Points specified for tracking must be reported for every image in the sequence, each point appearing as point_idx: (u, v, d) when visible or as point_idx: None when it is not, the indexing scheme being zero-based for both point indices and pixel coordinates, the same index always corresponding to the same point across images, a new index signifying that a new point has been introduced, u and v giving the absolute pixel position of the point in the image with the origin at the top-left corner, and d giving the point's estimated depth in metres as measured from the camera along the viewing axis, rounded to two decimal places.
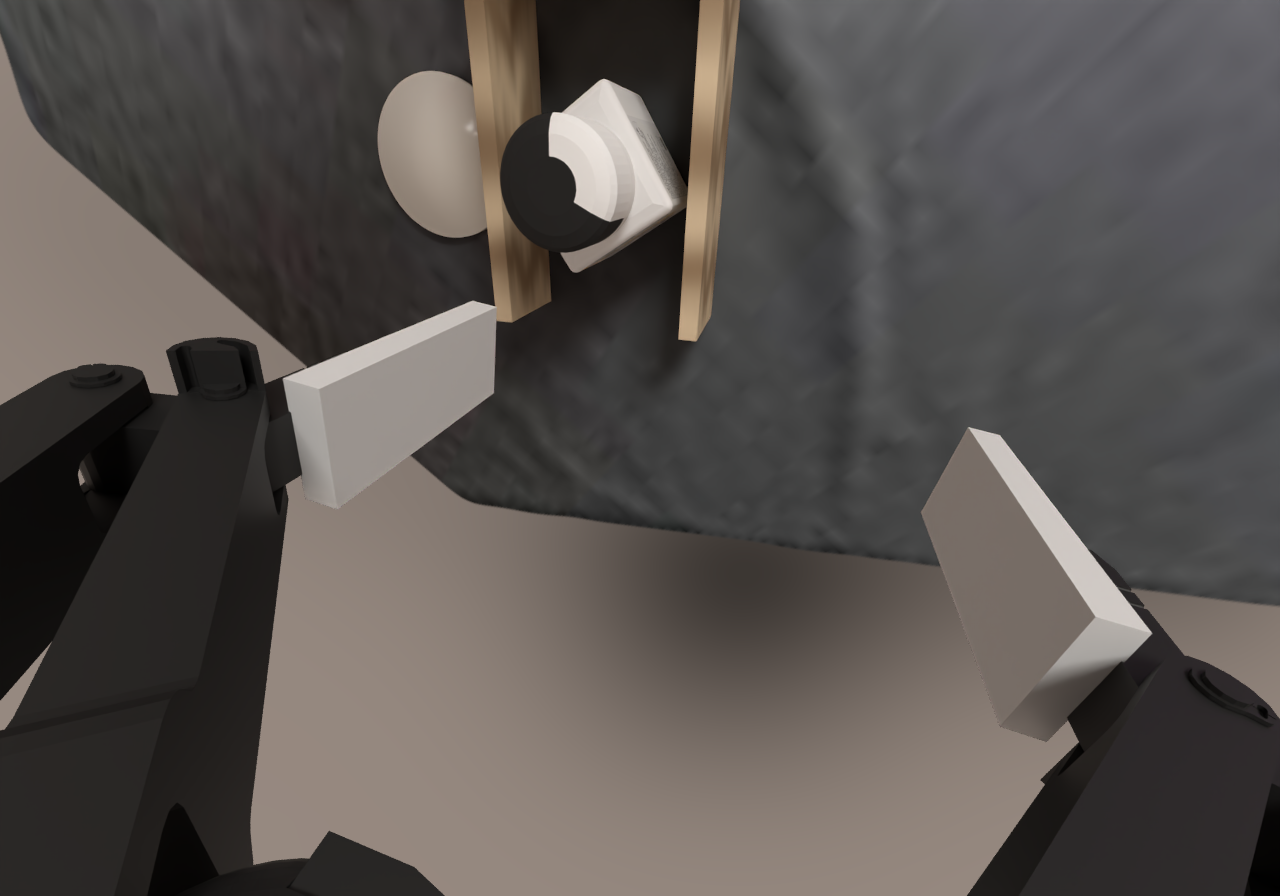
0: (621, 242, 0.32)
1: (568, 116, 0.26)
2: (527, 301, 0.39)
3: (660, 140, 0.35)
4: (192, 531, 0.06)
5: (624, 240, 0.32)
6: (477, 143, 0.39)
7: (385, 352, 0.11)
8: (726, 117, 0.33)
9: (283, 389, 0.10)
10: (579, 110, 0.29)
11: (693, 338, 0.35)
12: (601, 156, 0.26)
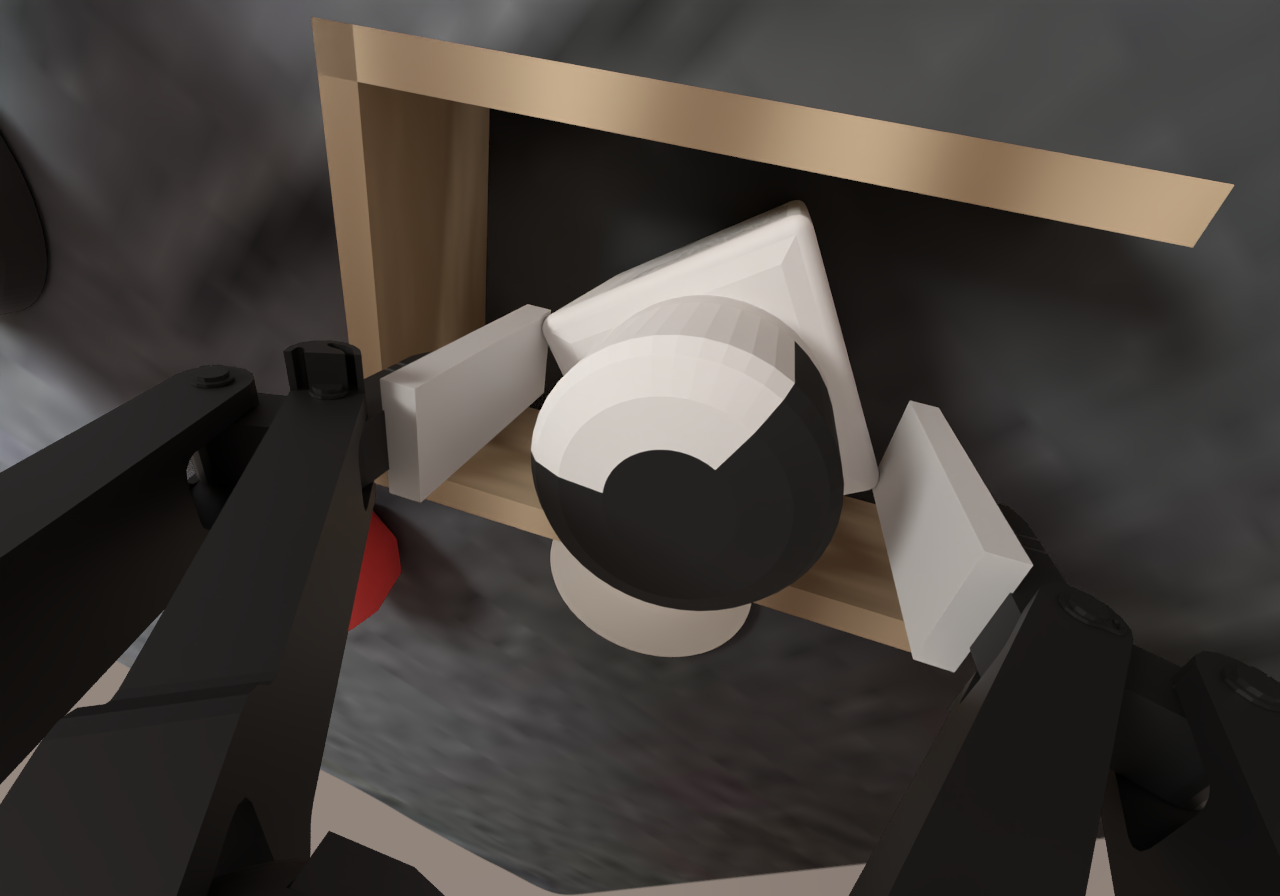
0: (846, 361, 0.13)
1: (539, 419, 0.11)
2: None
3: (682, 247, 0.19)
4: (287, 524, 0.07)
5: (844, 353, 0.13)
6: None
7: (463, 354, 0.12)
8: None
9: (372, 389, 0.11)
10: None
11: (1217, 194, 0.11)
12: (624, 365, 0.10)
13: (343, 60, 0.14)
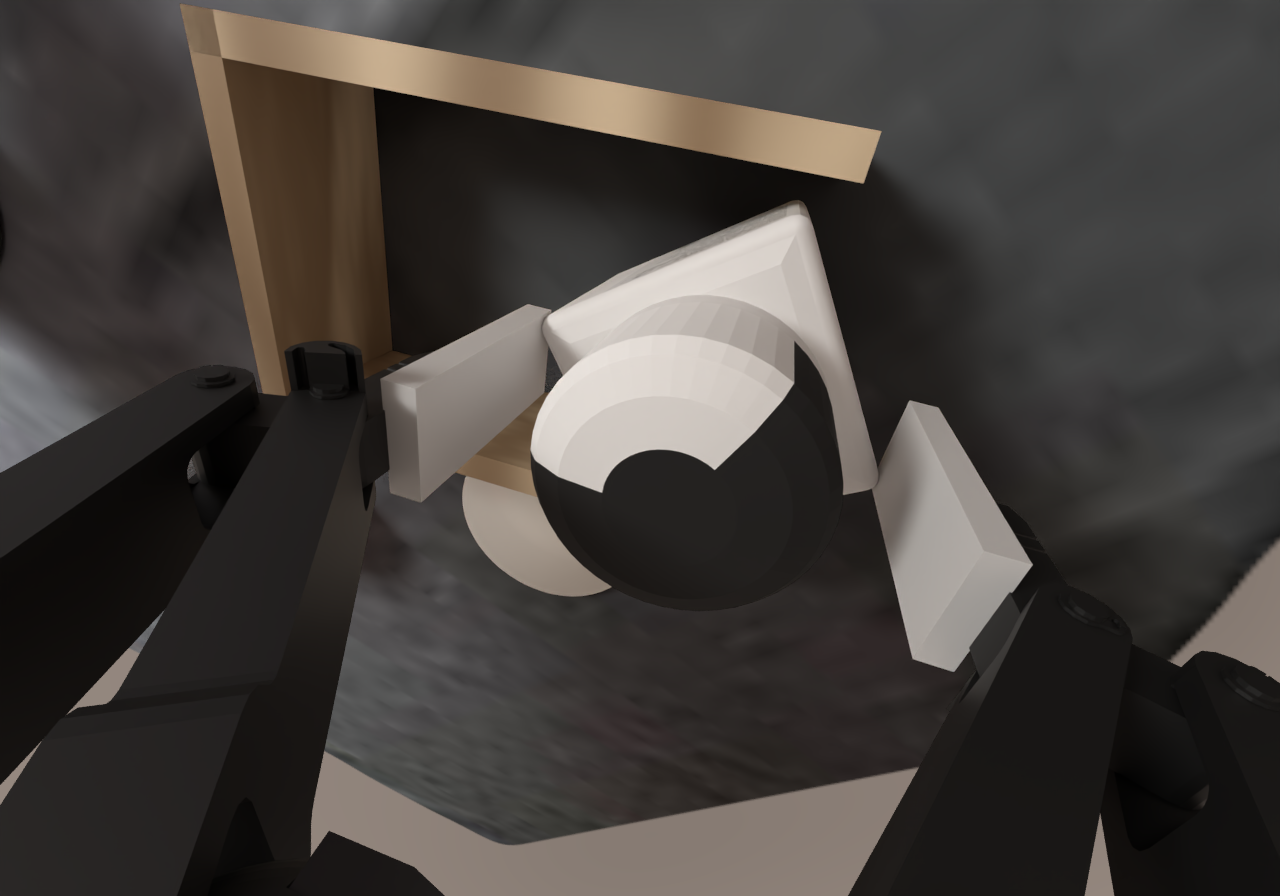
0: (846, 361, 0.13)
1: (539, 419, 0.11)
2: None
3: (682, 247, 0.19)
4: (289, 524, 0.07)
5: (844, 353, 0.13)
6: None
7: (463, 354, 0.12)
8: None
9: (372, 388, 0.11)
10: None
11: (871, 139, 0.13)
12: (623, 365, 0.10)
13: (209, 39, 0.16)
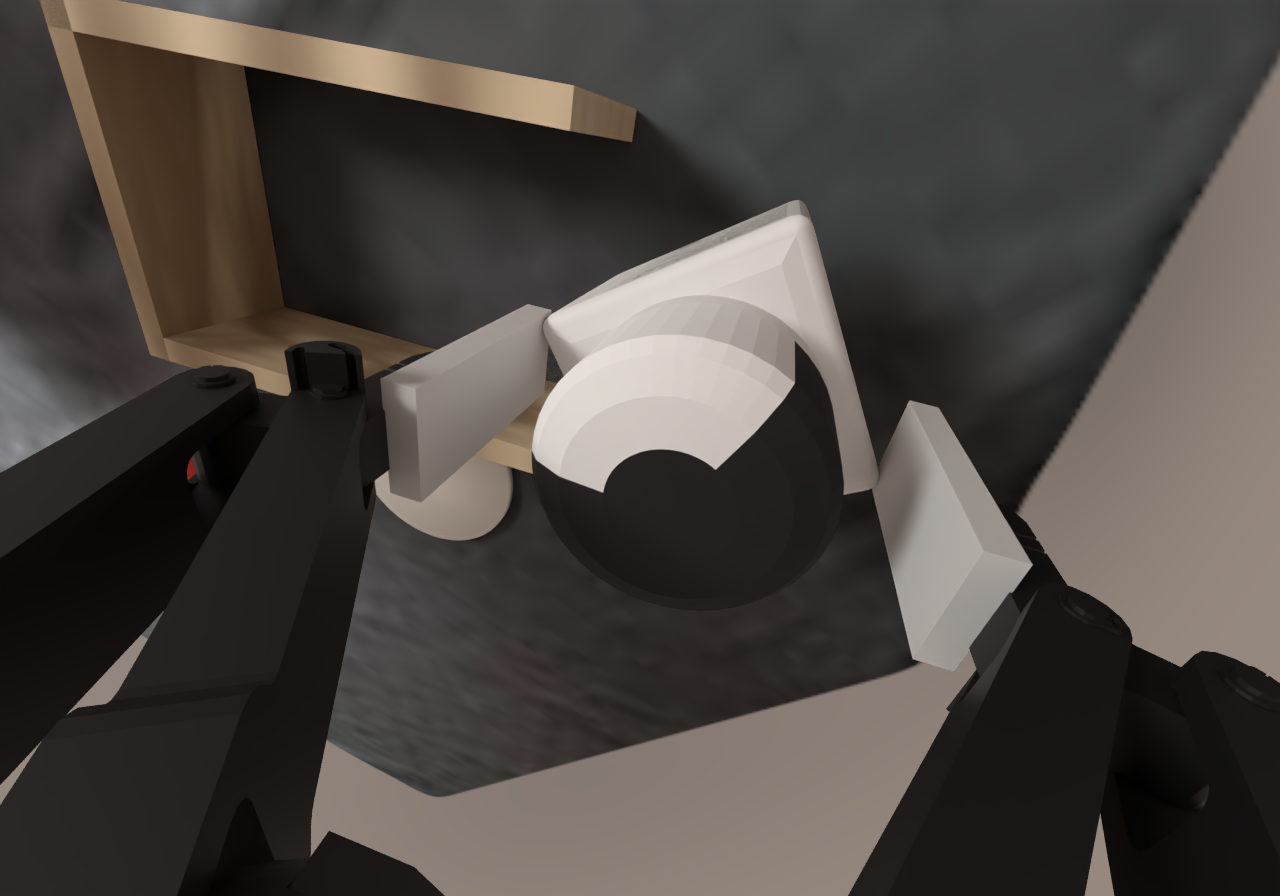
0: (846, 361, 0.14)
1: (540, 419, 0.11)
2: None
3: (682, 248, 0.19)
4: (289, 524, 0.07)
5: (844, 353, 0.13)
6: None
7: (463, 354, 0.12)
8: None
9: (372, 388, 0.11)
10: None
11: (567, 92, 0.16)
12: (625, 365, 0.10)
13: (60, 15, 0.19)
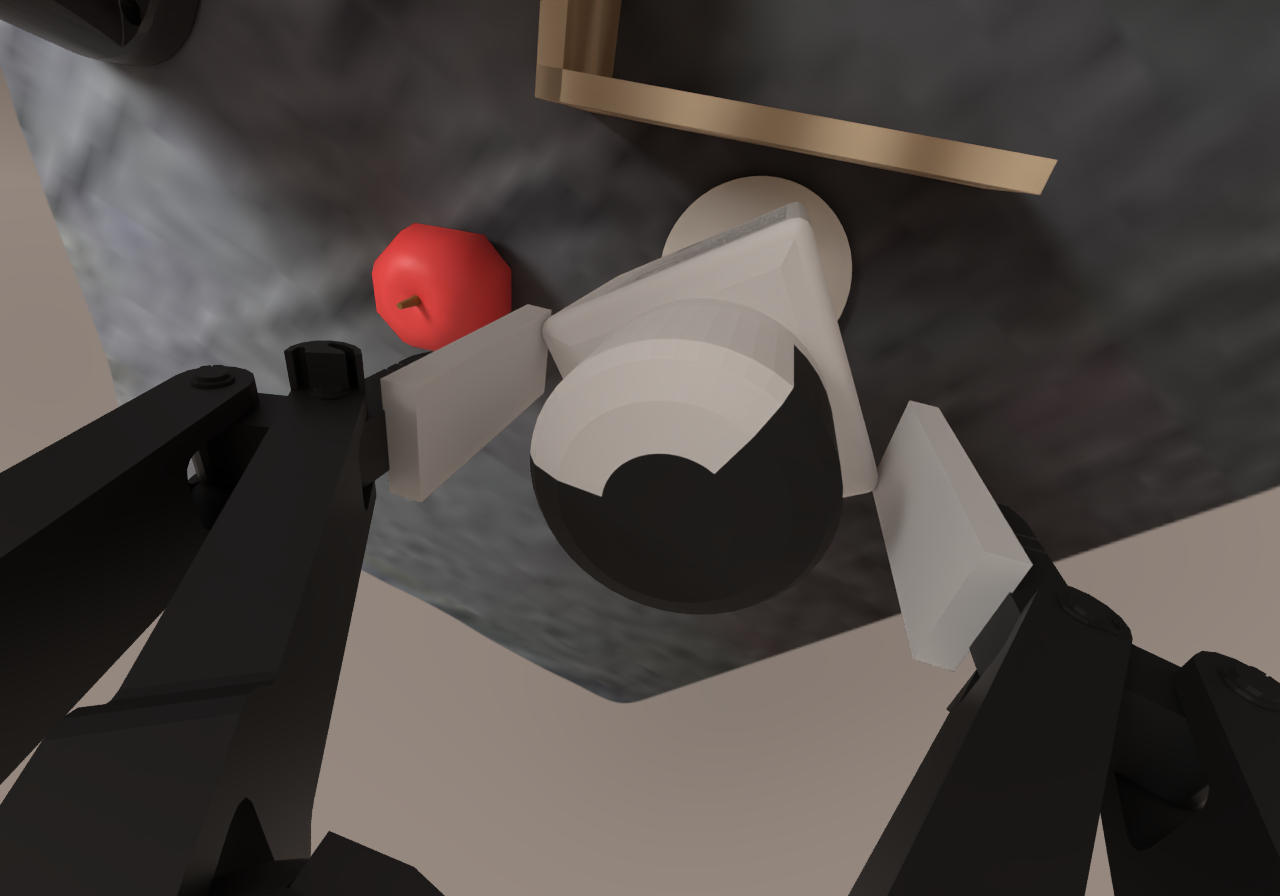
0: (846, 364, 0.13)
1: (538, 422, 0.11)
2: None
3: (682, 249, 0.19)
4: (288, 524, 0.07)
5: (843, 356, 0.13)
6: (746, 221, 0.29)
7: (464, 354, 0.12)
8: None
9: (372, 388, 0.11)
10: None
11: None
12: (623, 369, 0.10)
13: None
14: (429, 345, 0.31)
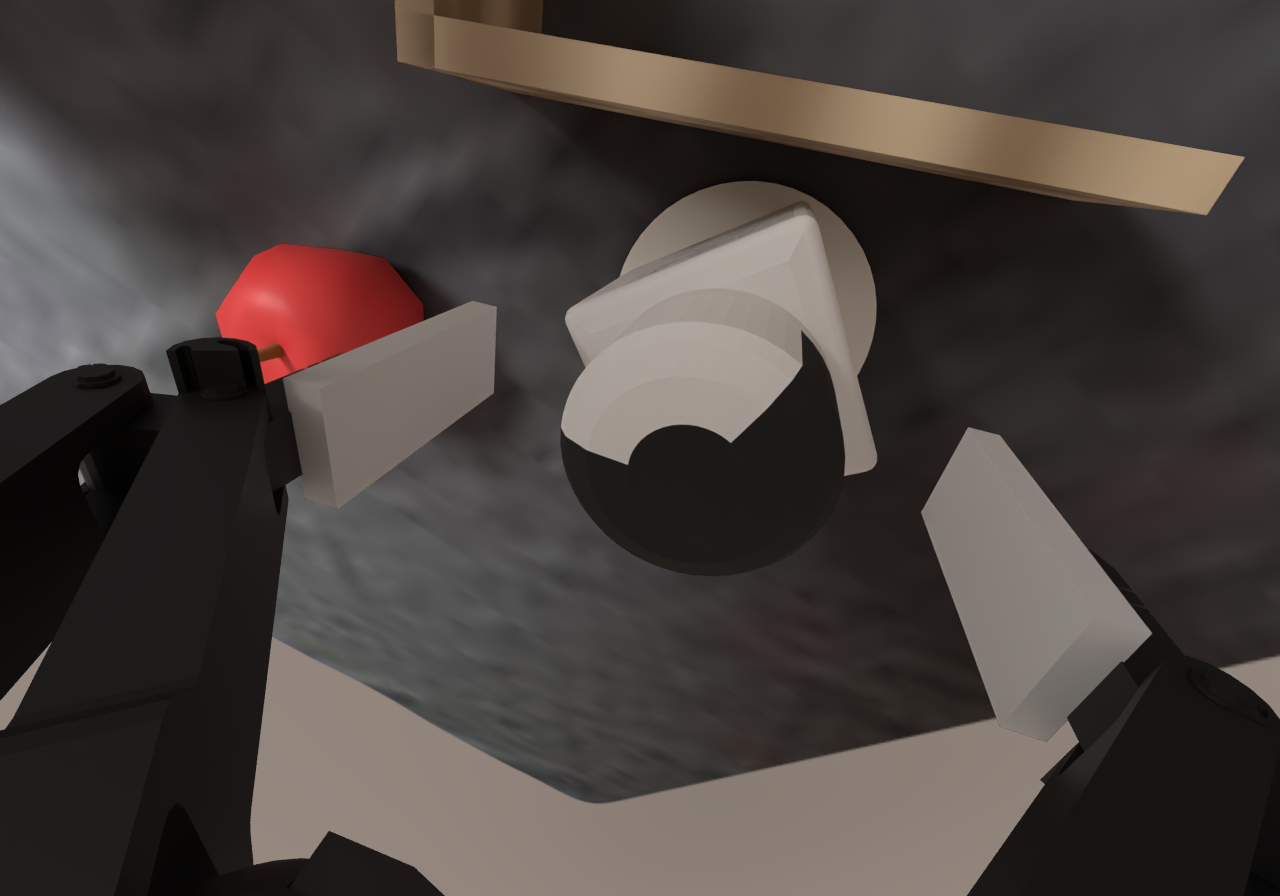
0: (848, 350, 0.15)
1: (570, 398, 0.12)
2: None
3: (693, 245, 0.20)
4: (192, 531, 0.06)
5: (846, 343, 0.15)
6: None
7: (385, 352, 0.11)
8: None
9: (283, 389, 0.10)
10: None
11: None
12: (650, 348, 0.11)
13: None
14: None
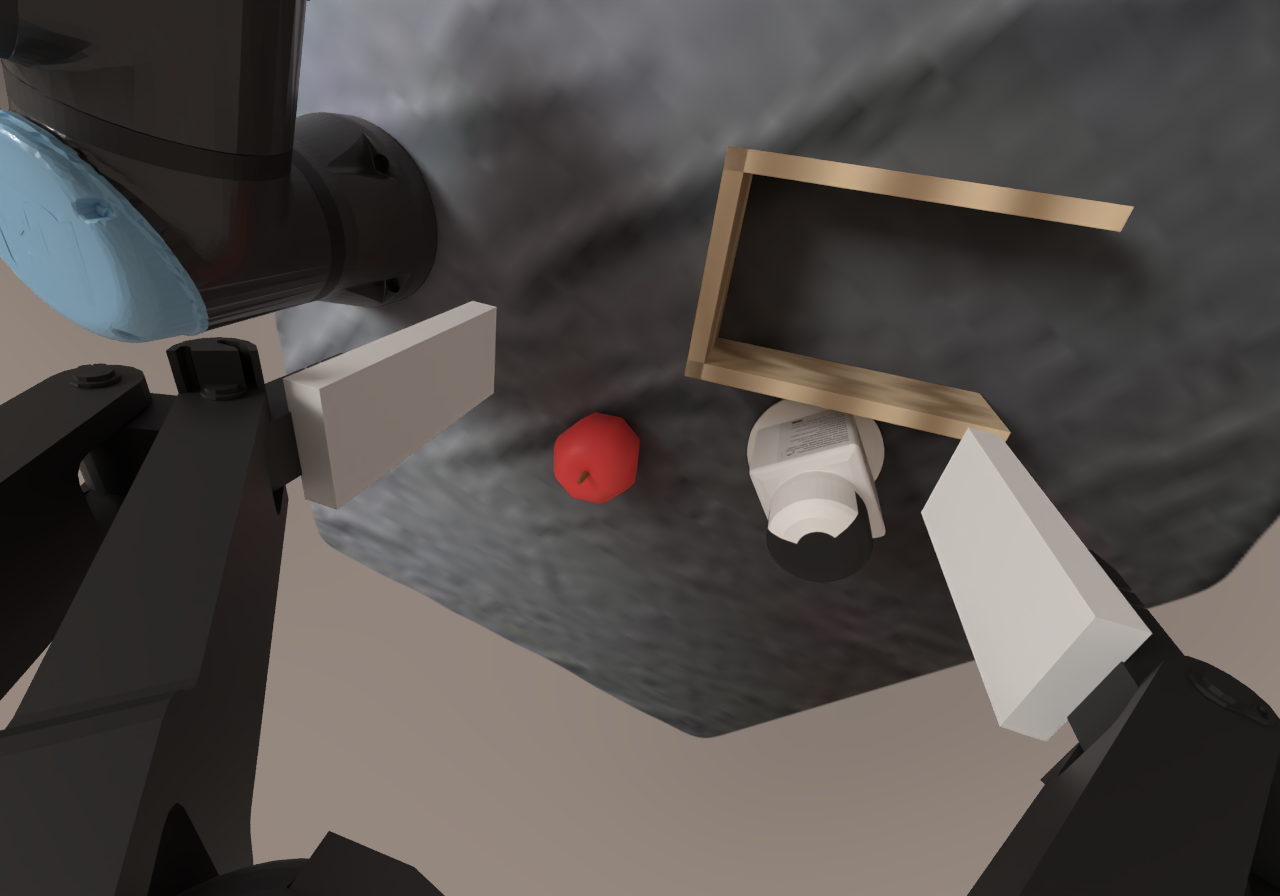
0: (871, 490, 0.37)
1: (773, 520, 0.34)
2: (983, 413, 0.36)
3: (794, 424, 0.42)
4: (192, 531, 0.06)
5: (871, 488, 0.36)
6: None
7: (385, 352, 0.11)
8: None
9: (283, 388, 0.10)
10: (764, 494, 0.39)
11: (1128, 210, 0.27)
12: (807, 507, 0.33)
13: (738, 163, 0.31)
14: (591, 501, 0.45)
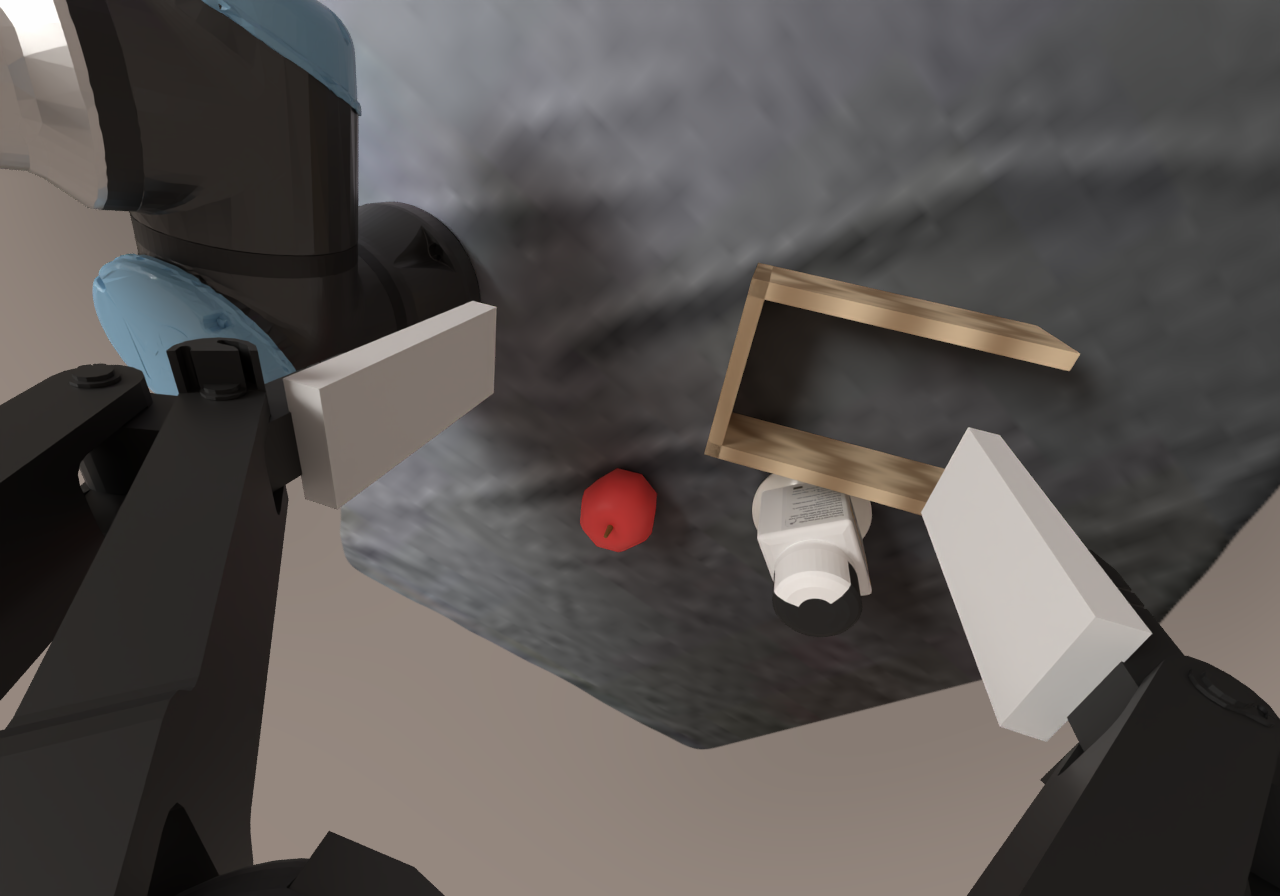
0: (861, 557, 0.43)
1: (779, 585, 0.40)
2: None
3: (795, 490, 0.48)
4: (193, 531, 0.06)
5: (860, 555, 0.43)
6: None
7: (385, 352, 0.11)
8: (865, 290, 0.40)
9: (283, 388, 0.10)
10: (769, 556, 0.45)
11: (1075, 356, 0.33)
12: (808, 578, 0.39)
13: (760, 292, 0.37)
14: (614, 550, 0.51)
